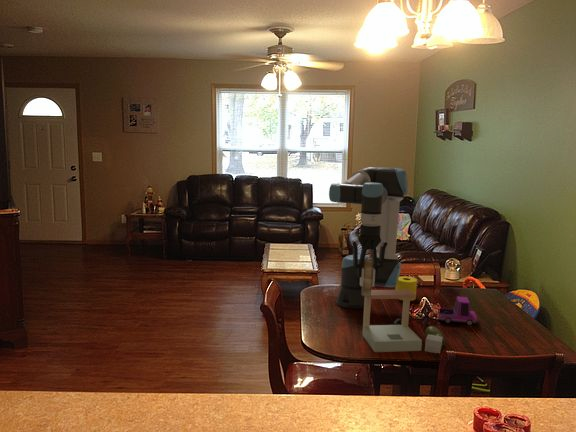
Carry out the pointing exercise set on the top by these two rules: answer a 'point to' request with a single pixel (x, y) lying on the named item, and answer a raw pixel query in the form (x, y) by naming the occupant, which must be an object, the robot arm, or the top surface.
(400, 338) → the socket board
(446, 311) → the toy truck
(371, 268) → the peg
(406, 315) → the beige arch frame
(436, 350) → the small box
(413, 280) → the tape roll
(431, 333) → the pear
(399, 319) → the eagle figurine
